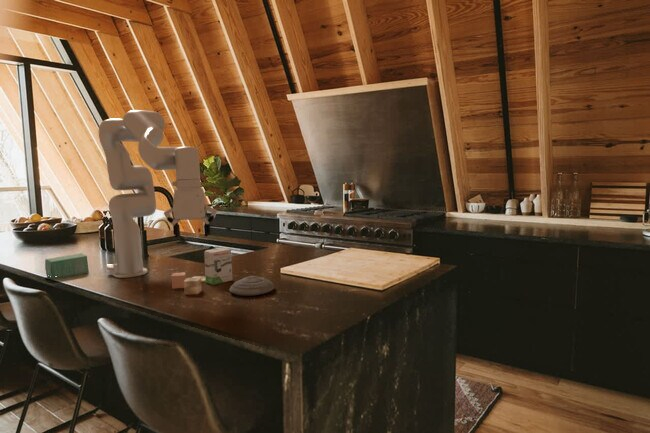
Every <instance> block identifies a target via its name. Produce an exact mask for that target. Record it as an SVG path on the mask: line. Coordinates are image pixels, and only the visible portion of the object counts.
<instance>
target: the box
mask: <svg viewBox="0 0 650 433" xmlns="http://www.w3.org/2000/svg"><path fill="white" fill-rule="evenodd" d="M44 269H45V274H46V277H47V278H49V279H51V280H60V279H66V278H71V277H77V276H80V275H85V274H89V273H90V272H89V263H88V255H86V254H83V253H76V254H69V255H64V256H57V257H52V258H45V260H44ZM48 275H49V276H48ZM50 276H51V277H50ZM55 276H57V277H55Z"/></svg>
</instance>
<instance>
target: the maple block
mask: <svg viewBox="0 0 650 433" xmlns="http://www.w3.org/2000/svg"><path fill="white" fill-rule="evenodd" d="M183 291H184V292H183V294H184V295H199V294H200V293H201V292H202V282H201V278H192V277H186V280H185V281H184V288H183Z"/></svg>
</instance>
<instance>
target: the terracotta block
mask: <svg viewBox="0 0 650 433" xmlns="http://www.w3.org/2000/svg"><path fill="white" fill-rule="evenodd" d="M186 279H187V277H186V272H185V271H181V272H172V273H171V287H172V288H171V289H184V281H185V280H186Z"/></svg>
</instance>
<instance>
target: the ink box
mask: <svg viewBox="0 0 650 433" xmlns="http://www.w3.org/2000/svg"><path fill="white" fill-rule="evenodd" d="M203 254H204V272H205V273H204V274H205V275H204V276H205V279H206V282H205V283H206V284H210V285H218V284H222V283H226V282H230V281H233V266H232V249H230V248H228V247H227V248H226V247H219V248H212V249H206V250H205V251H204V253H203Z"/></svg>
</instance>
